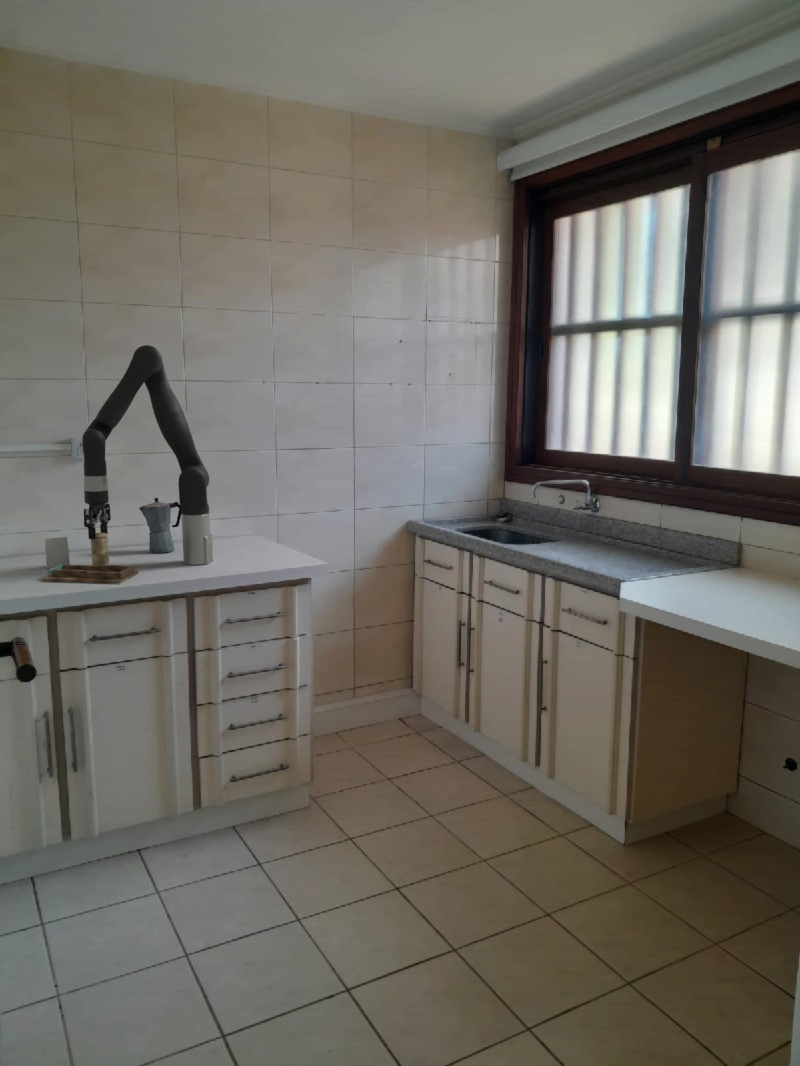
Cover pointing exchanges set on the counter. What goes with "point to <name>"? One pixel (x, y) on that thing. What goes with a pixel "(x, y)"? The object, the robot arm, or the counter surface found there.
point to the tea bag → (56, 552)
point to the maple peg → (100, 549)
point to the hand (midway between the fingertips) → (98, 536)
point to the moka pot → (160, 525)
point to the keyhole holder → (90, 573)
